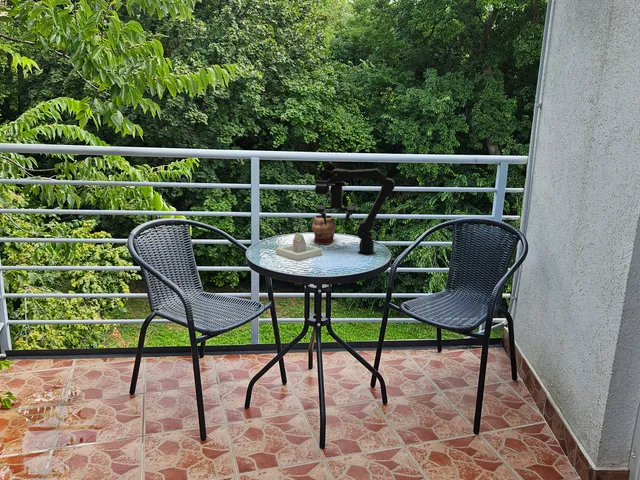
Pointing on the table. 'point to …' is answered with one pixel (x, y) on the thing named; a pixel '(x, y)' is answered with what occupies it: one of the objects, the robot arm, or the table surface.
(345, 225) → the robot arm
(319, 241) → the decorative planter
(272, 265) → the table surface
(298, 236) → the tea bag
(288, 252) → the housing tray
